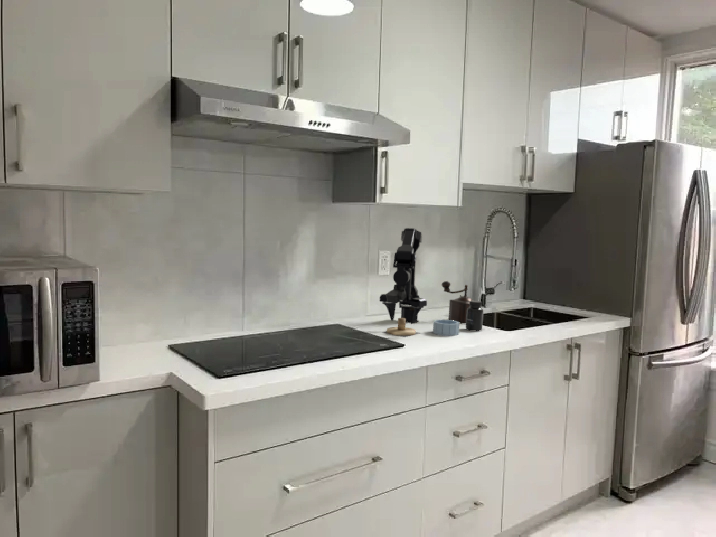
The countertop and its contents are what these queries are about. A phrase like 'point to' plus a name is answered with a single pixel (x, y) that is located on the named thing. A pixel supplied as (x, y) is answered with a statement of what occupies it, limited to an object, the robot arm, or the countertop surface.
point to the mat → (398, 335)
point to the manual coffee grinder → (457, 304)
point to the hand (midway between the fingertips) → (401, 322)
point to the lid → (401, 329)
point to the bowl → (446, 327)
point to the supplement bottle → (474, 316)
